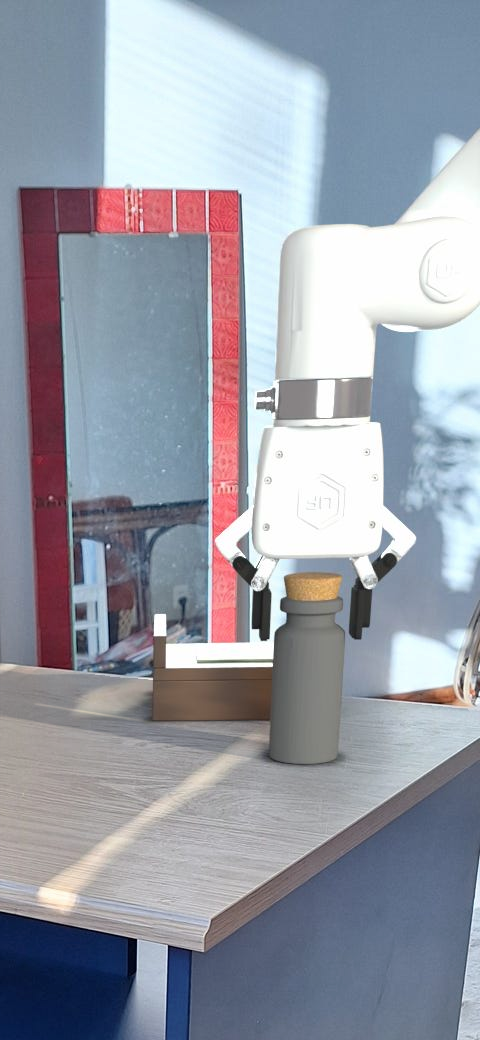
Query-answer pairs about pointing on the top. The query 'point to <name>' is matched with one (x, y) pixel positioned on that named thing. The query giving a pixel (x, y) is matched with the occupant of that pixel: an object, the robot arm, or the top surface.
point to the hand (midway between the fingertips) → (309, 636)
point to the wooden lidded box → (210, 679)
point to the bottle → (307, 671)
